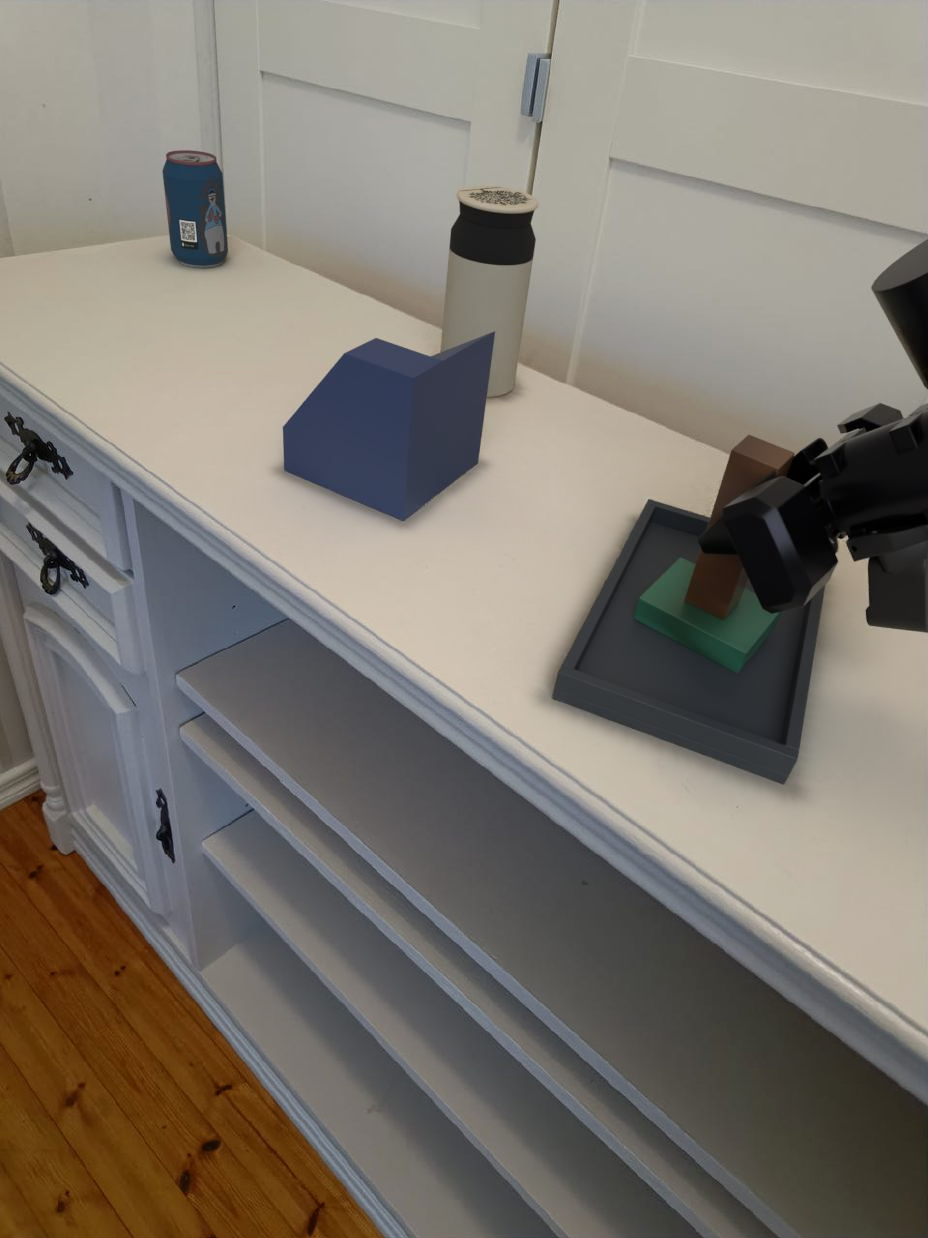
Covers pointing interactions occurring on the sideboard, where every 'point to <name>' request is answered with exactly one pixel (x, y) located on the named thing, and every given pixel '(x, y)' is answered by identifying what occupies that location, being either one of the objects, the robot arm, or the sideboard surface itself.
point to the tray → (689, 663)
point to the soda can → (195, 208)
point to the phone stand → (392, 424)
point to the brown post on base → (717, 577)
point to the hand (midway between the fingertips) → (712, 537)
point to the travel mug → (490, 276)
